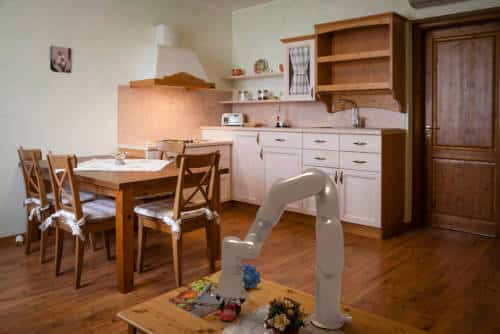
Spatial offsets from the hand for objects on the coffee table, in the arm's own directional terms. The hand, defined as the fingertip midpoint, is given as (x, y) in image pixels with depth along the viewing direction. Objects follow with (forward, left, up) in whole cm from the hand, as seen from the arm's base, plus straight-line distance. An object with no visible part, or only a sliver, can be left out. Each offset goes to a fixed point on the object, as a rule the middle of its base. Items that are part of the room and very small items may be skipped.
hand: (230, 312), depth 172 cm
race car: (0, 0, -1) cm, 1 cm away
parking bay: (+11, -16, -1) cm, 19 cm away
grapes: (-1, -26, -1) cm, 26 cm away
